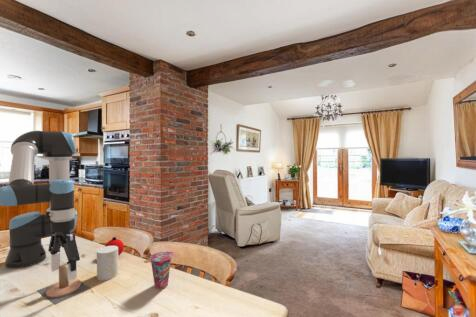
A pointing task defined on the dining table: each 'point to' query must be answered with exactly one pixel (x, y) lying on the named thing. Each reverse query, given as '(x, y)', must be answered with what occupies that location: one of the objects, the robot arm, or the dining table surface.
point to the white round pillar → (107, 262)
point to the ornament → (116, 244)
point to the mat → (60, 299)
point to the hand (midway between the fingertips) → (63, 274)
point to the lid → (63, 284)
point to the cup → (161, 268)
